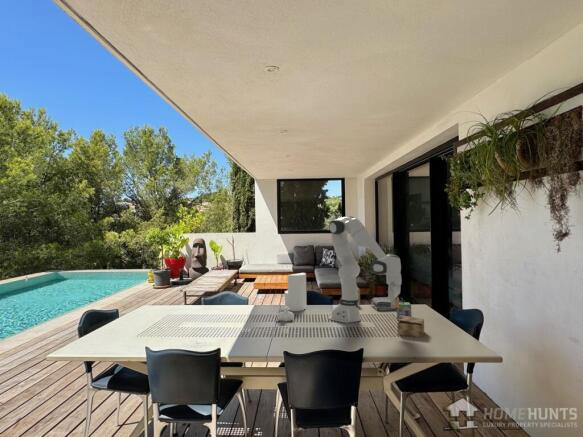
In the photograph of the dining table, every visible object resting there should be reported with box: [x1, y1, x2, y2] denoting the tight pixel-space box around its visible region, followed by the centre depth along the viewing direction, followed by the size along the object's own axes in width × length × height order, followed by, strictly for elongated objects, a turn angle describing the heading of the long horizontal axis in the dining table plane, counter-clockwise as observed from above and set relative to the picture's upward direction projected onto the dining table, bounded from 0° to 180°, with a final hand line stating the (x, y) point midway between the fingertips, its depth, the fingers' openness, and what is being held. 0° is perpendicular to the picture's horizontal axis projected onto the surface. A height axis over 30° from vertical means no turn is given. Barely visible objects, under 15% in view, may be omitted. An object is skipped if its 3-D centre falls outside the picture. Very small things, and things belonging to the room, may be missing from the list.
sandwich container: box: [358, 287, 361, 308], centre depth 278 cm, size 9×15×15 cm, turn 100°
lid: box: [397, 315, 425, 325], centre depth 207 cm, size 14×11×1 cm
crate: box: [397, 320, 425, 338], centre depth 207 cm, size 14×11×7 cm
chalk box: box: [396, 297, 413, 321], centre depth 235 cm, size 9×9×15 cm
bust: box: [276, 305, 295, 322], centre depth 236 cm, size 12×8×11 cm, turn 92°
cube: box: [391, 296, 400, 308], centre depth 208 cm, size 4×4×6 cm
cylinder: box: [284, 272, 308, 312], centre depth 272 cm, size 17×17×28 cm
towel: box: [370, 296, 397, 311], centre depth 270 cm, size 15×18×8 cm
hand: (394, 303), depth 208 cm, fingers closed on cube, 5 cm apart
